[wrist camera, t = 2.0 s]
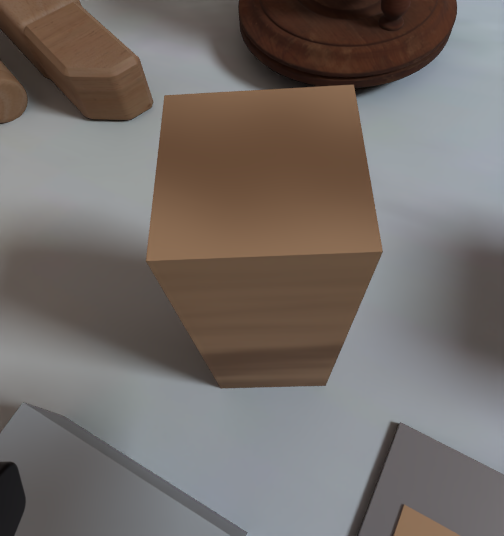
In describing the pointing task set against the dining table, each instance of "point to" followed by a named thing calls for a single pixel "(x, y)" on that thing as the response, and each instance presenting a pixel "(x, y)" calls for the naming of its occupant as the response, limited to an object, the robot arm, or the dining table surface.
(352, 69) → the scroll
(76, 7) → the wooden block set
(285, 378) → the walnut column
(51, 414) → the slate block
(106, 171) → the dining table surface
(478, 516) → the card
